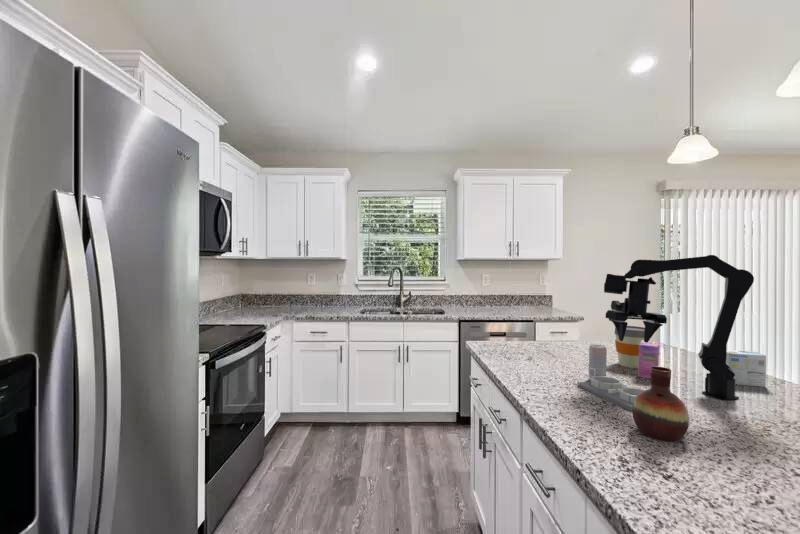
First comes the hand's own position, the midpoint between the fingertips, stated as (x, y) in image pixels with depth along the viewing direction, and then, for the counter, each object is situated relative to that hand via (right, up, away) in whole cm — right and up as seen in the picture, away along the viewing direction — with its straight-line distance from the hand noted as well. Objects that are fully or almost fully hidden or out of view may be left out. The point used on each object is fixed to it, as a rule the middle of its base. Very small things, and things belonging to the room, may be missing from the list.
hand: (633, 341), depth 130 cm
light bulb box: (+38, -15, +1) cm, 41 cm away
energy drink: (-12, -14, +1) cm, 18 cm away
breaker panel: (-13, -14, -15) cm, 24 cm away
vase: (-19, -14, -40) cm, 47 cm away
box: (+11, -14, +9) cm, 20 cm away
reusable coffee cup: (+13, -14, +23) cm, 30 cm away
